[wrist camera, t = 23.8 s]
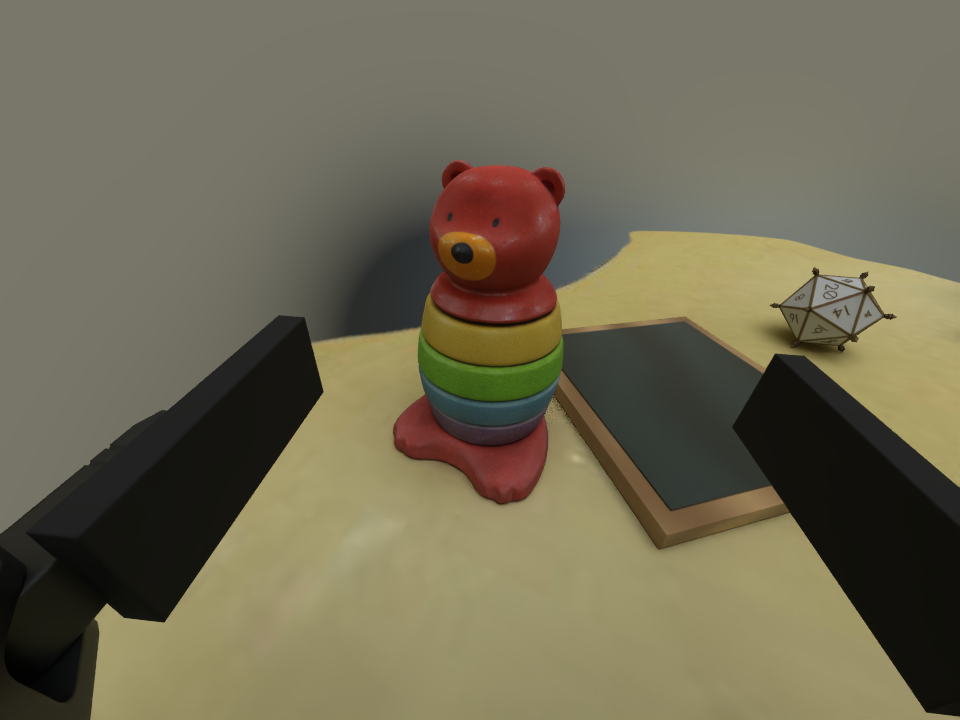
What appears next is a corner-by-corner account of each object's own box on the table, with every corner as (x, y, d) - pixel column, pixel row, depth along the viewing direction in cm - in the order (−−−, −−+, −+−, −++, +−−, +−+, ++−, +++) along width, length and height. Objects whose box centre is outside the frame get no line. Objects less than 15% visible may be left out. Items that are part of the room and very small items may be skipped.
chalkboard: (681, 327, 43) (685, 315, 42) (903, 480, 25) (919, 465, 25) (520, 345, 38) (521, 332, 37) (658, 549, 21) (667, 534, 20)
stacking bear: (380, 443, 26) (336, 159, 16) (458, 373, 33) (461, 148, 23) (518, 517, 22) (575, 193, 12) (573, 418, 29) (636, 166, 19)
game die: (807, 380, 42) (900, 349, 32) (739, 333, 44) (807, 291, 34) (844, 326, 43) (942, 281, 34) (777, 283, 46) (852, 230, 36)
